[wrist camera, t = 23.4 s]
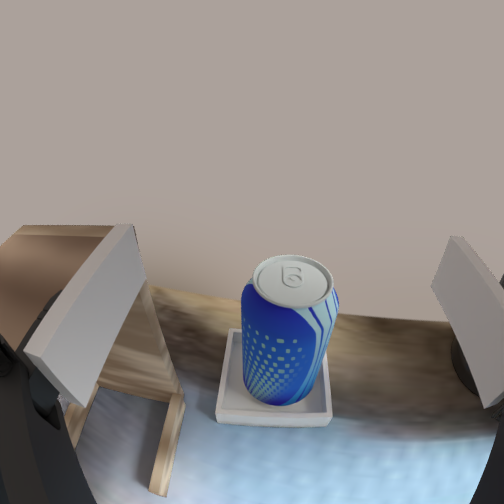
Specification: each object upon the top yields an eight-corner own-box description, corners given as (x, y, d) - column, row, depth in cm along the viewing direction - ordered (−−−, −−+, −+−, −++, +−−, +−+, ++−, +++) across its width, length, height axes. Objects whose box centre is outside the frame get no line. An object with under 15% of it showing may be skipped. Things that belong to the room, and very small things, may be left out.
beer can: (326, 377, 32) (361, 276, 23) (281, 424, 27) (304, 334, 18) (275, 342, 36) (285, 238, 28) (228, 380, 31) (218, 277, 23)
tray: (319, 346, 37) (323, 332, 35) (326, 426, 27) (332, 416, 25) (230, 342, 37) (229, 328, 36) (217, 422, 27) (215, 413, 26)
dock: (97, 375, 31) (20, 225, 18) (188, 395, 30) (140, 226, 18) (64, 460, 20) (-76, 330, 7) (166, 497, 19) (26, 408, 7)
